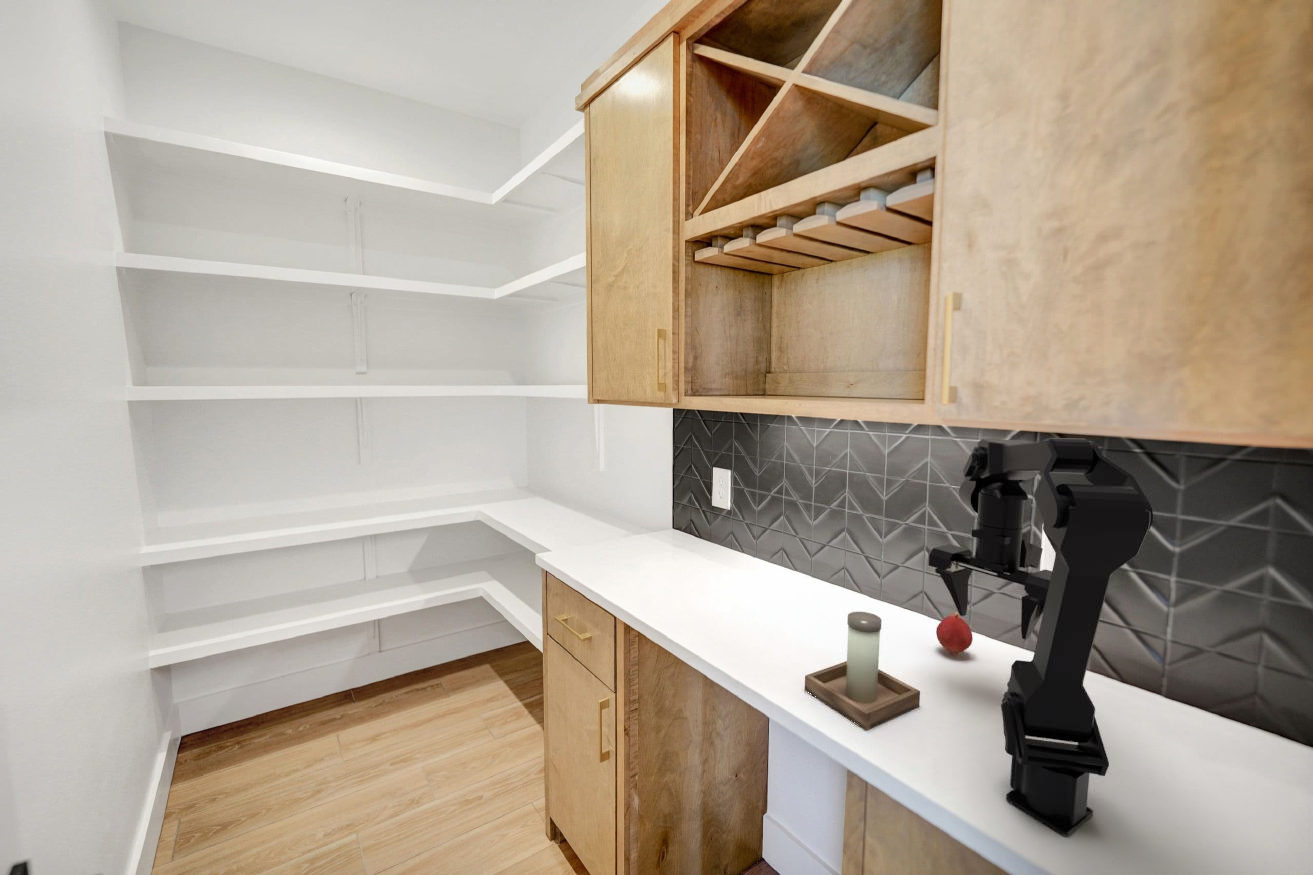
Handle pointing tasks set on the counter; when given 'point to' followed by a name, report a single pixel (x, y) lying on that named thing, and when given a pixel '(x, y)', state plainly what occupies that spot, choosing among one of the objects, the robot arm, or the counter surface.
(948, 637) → the onion
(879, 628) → the spice jar
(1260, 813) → the counter surface
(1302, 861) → the counter surface
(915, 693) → the walnut tray
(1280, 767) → the counter surface
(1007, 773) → the counter surface
